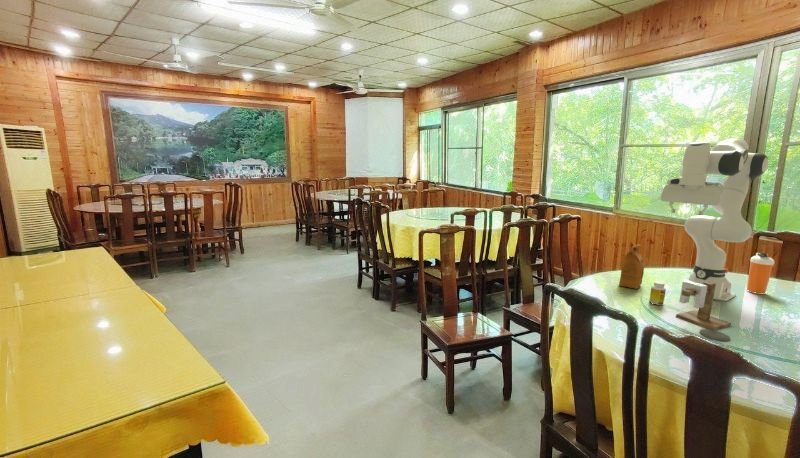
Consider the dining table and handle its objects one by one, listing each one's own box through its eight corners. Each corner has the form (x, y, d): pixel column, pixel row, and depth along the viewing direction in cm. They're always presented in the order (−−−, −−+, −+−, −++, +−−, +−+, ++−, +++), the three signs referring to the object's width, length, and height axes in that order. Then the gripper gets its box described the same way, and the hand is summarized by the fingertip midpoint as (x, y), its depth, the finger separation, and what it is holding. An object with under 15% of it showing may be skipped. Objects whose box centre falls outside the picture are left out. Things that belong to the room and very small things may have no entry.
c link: (684, 301, 158) (688, 280, 156) (703, 307, 152) (707, 285, 150) (679, 302, 157) (682, 281, 155) (698, 308, 150) (702, 286, 149)
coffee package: (645, 286, 204) (651, 245, 200) (637, 291, 195) (643, 248, 191) (624, 281, 211) (629, 241, 207) (615, 285, 203) (621, 244, 199)
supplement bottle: (659, 307, 174) (663, 285, 172) (646, 303, 179) (649, 281, 177) (665, 304, 177) (669, 283, 176) (652, 300, 182) (655, 280, 180)
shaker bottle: (748, 293, 197) (756, 255, 193) (741, 288, 205) (748, 251, 201) (771, 296, 193) (779, 257, 190) (762, 290, 201) (770, 253, 198)
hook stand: (693, 312, 168) (699, 276, 165) (730, 325, 156) (738, 286, 153) (661, 319, 160) (667, 281, 157) (698, 334, 147) (705, 293, 144)
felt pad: (708, 329, 152) (708, 327, 152) (735, 339, 144) (735, 337, 144) (694, 332, 149) (694, 331, 149) (720, 343, 141) (721, 341, 140)
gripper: (723, 182, 159) (717, 216, 161) (663, 179, 170) (658, 210, 173) (725, 183, 154) (718, 217, 156) (663, 179, 165) (658, 211, 167)
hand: (686, 214), depth 164 cm, fingers open, 8 cm apart
